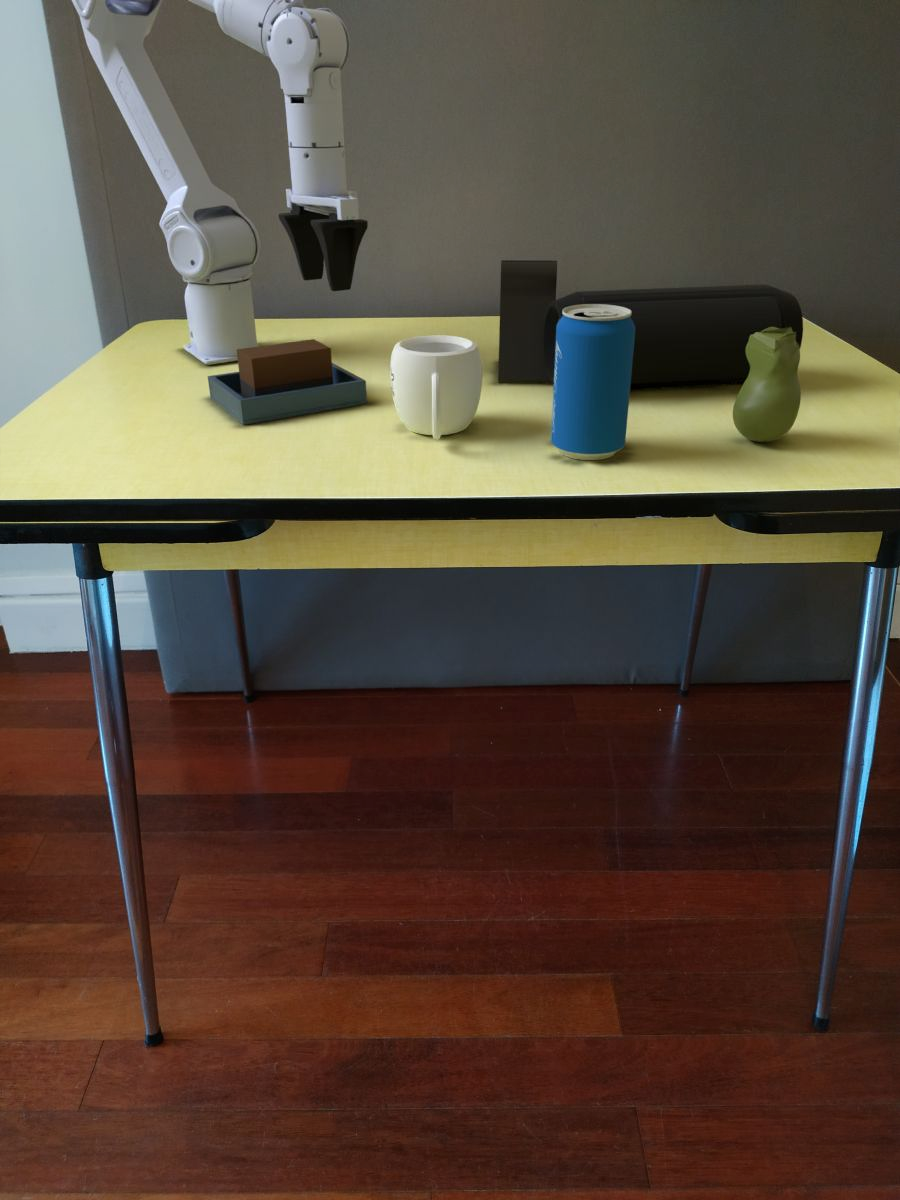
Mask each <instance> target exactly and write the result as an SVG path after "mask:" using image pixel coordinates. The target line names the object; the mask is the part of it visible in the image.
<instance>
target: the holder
mask: <svg viewBox="0 0 900 1200" xmlns="http://www.w3.org/2000/svg"><path fill="white" fill-rule="evenodd" d="M332 372H333V384H331V385H325V386H319V387H313V388H306V389H300V390H294V391H288V392H281V393H275V394H269V395H263V396H256V397H250V398H243V397H242V392H241V383H240V374H239V371H234V372H225V373H221V374H213V375H208V376H207V382H208V389H209V397H210V398H209V399H210V400H211V401H212V402H214V403H215V404H216V405H218V406H219V407H220V408H221V409H222V410H223V411H225V412H226V413H228V414H229V415H230V416H232V417H233V418H234V420H236V421H238V422H239V423H240V424H241V425H243V426H247V425H253V424H257V423H258V424H259V423H262V422H270V421H274V420H275V421H276V420H281V419H288V418H293V417H298V416H303V415H310V414H316V413H321V412H327V411H332V410H339V409H344V408H351V407H355V406H362V405H366V404H368V398H367V397H368V395H367V394H368V393H367V381H366V379H363V378H362V377H360V376H358V375H357V374H354V373H352V372H350V371H348V369H345V368H343V367H341V366H340V365H337V364H336V363H333V362H332Z"/></svg>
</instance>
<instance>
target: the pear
mask: <svg viewBox="0 0 900 1200" xmlns="http://www.w3.org/2000/svg"><path fill="white" fill-rule="evenodd" d="M795 338H796V332H793V331H792V328H791V327H789V328H783V329H779V328H776V327H769V328H767V329H765V330H763V331H761V332H756V333H755V334H753V335H750V337H749V341H748V343H747V345H746V349H745V352H746V357H747V359H748V362H749V364H750V372H749V375H748V377H747V379H746V381H745V382H744V384H742V385H741V387H740V389H739V390H738V394H737V396H736V398H735V399H734V400H735V401H734V404H733V408H732V420H733V424H734V426H735V428H736V430H737V432H738V433H739V434H741V435H742V436H743V437H744V438H745V439H747V440H750V441H752V442H757V443H769V442H774V441H776V440H779V439H781V438H782V437H784V436H785V435H786V434H788V432H789V431H790V430H791V429H792V427H793V426H794V425H795V422H796V420H797V417H798V415H799V410H800V406H801V400H802V387H801V382H800V377H799V365H800V361H801V347H800V348H799V343H798V342H796V339H795Z"/></svg>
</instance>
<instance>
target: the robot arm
mask: <svg viewBox="0 0 900 1200" xmlns="http://www.w3.org/2000/svg"><path fill="white" fill-rule="evenodd" d="M187 1H188V2H189V3H192V4H194V5H196V6H199V7H201V8H203V9H205V10H207V11H208V12H212V13H214V14H215V15H216V20H217V23H218V25H219V27H220V29H221V31H222V32H223V33H224V34H225V35H227V36H229V37H231V38H233V39H234V40H236V41H237V42H239V43H242V44H243V45H245V46H248V47H249V48H251V49H253V50H255V51H257V52H258V53H260V54H261V55H264V56H266V57H268V58H269V59H270V61H271V63H272V65H273V66H274V67H275V69H276V71H277V72H278V76H279V82H280V89H281V90H283V91H282V92H283V94H284V105H285V106H284V108H285V117H286V128H287V140H288V141H287V142H288V156H289V166H290V176H291V177H290V179H291V188H286V189H285V195H286V196H285V197H286V206H287V208H288V209H290V212H280V213H278V219H279V221H280V223H281V225H282V226H283V228H284V229H285V232H286V233H287V236H288V238H289V240H290V243H291V245H292V248H293V251H294V254H295V258H296V261H297V264H298V268H299V272H300V274H301V277H302V280H303V281H311V280H312V281H316V280H322V279H323V275H324V267H325V273H326V278H327V282H328V286H329V289H330V291H332V292H340V291H350V290H351V289H352V284H353V278H354V273H355V266H356V261H357V256H358V252H359V248H360V246H361V243H362V240H363V238H364V235H365V233H367V230H368V229H369V228H368V226H369V224H368V222H369V221H368V220H366V219H361V218H360V213H359V211H360V210H359V199H358V192H357V191H354V190H348V185H347V183H348V181H347V170H346V169H347V168H346V164H347V163H346V148H345V130H344V129H345V128H344V111H343V94H342V79H341V77H342V75H341V72H342V71H343V70H344V68H345V67H346V65H347V63H348V61H349V57H350V53H351V37H350V34H349V31H348V28H347V26H346V24H345V23H344V21H343V20H342V18H341V17H339V16H338V15H337V14H335V13H334V12H333V10H332V9H330V8H328V7H327V8H326V7H318V8H308V7H307V6H306V5H305V4H304V0H187ZM71 2H72V4H73V6H74V8H75V10H76V12H77V14H78V16H79V20H80V24H81V27H82V32H83V36H84V39H85V42H86V45H87V48H88V50H89V53H90V56H91V57H92V59H93V61H94V63H95V65H96V67H97V68H98V70H99V73H100V74H101V76H102V78H103V81H104V82H105V84H106V87H107V88H108V90H109V92H110V94H111V96H112V98H113V99H114V101H115V104H116V105H117V108H118V109H119V112H120V113H121V115H122V118H123V120H124V122H125V123H126V125H127V128H128V129H129V131H130V133H131V134H132V137H133V138H134V141H135V142H136V144H137V146H138V148H139V151H140V152H141V154H142V155H143V158H144V160H145V162H146V164H147V165H148V168H149V170H150V172H151V173H152V175H153V178H154V179H155V181H156V183H157V185H158V187H159V189H160V191H161V193H162V195H163V197H164V199H165V201H166V203H167V204H166V207H165V208H164V210H163V213H162V215H161V218H160V220H159V227H160V229H161V231H162V233H163V235H164V238H165V241H166V244H167V245H166V246H167V251H168V256H169V260H170V262H171V263H172V265H173V267H174V268H175V270H176V271H177V272H178V273H179V274H180V276H182V281H183V282H184V283H187V286H186V287H185V291H184V304H185V312H186V318H187V327H188V332H189V333H188V334H189V339H190V343H189V344H187V343H186V344H184V345H183V349H184V350H185V351H186V352H188V353H189V354H190V355H192V356H193V357H194V358H196V359H197V360H199V361H200V362H201V363H203V364H204V365H209V366H210V365H215V364H224V363H230V362H238V358H237V349H244V348H252V347H259V346H260V345H258V337H257V328H256V320H255V311H254V309H255V308H254V302H253V292H252V283H251V276H253V275H254V269H253V267H254V266H255V264H257V262H258V260H259V258H260V254H261V239H260V235H259V233H258V230H257V228H256V226H255V224H254V223H253V222H252V220H251V219H250V218H248V216H246V215H245V214H244V213H243V212H242V211H241V209H240V208H239V206H238V204H237V202H236V200H235V199H234V197H232V196H231V195H229V194H228V193H227V192H225V191H224V190H222V189H220V188H219V187H217V186H216V185H215V184H213V183H212V181H211V179H210V177H209V175H208V173H207V171H206V169H205V167H204V165H203V163H202V162H201V159H200V157H199V155H198V154H197V151H196V149H195V147H194V145H193V143H192V141H191V139H190V137H189V136H188V133H187V131H186V129H185V127H184V125H183V123H182V121H181V120H180V117H179V115H178V113H177V111H176V109H175V107H174V105H173V103H172V102H171V99H170V97H169V95H168V93H167V92H166V91H167V90H166V89H165V87H164V85H163V84H162V81H161V79H160V77H159V76H158V73H157V72H156V69H155V67H154V65H153V63H152V61H151V59H150V56H148V53H147V52H146V49H145V47H144V42H145V38H146V37H147V36H148V35H149V34H150V33H151V30H152V27H153V26H154V23H155V20H156V18H157V15H158V12H159V10H160V8H161V5H162V2H163V0H71Z"/></svg>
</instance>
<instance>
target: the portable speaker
mask: <svg viewBox="0 0 900 1200" xmlns="http://www.w3.org/2000/svg"><path fill="white" fill-rule="evenodd" d="M583 304H605V305H615V306H620V307H625V308H627V309H629V310H631V312H632V313H631V316H630V318H631V319H632V321H633V323H634V325H635V339H634V351H633V362H632V373H631V384H630V391H637V390H658V389H673V388H674V389H677V388H693V387H694V388H695V387H711V386H712V387H713V386H729V385H732V386H733V385H743V384H744V382H745V381H746V379H747V377H748V375H749V372H750V364H749V362H748V359H747V357H746V352H745V349H746V345H747V343H748V341H749V337H750V335H753V334H755V333H756V332H761V331H763V330H765V329H767V328H769V327H776V328H779V329H783V328H789V327H791V328H792V331H793V332H796V338H795V339H796V342H798V343H799V348H800V349H801V347H802V341H803V337H804V317H803V312H802V308H801V305H800V303H799V301H798V299H797V297H795V296H794V295H793V294H792V293H790V292H788V291H786V290H783V289H780V288H777V287H775V286H772V285H769V284H738V285H736V284H735V285H714V286H713V285H711V286H688V287H687V286H686V287H684V286H683V287H659V288H634V289H605V290H582V291H575V292H571V293H570V294H567V295H564V296H563V297H560V298H557V299H556V300H555V301H553V302H551V303H550V304H549V306H548V308H547V311H546V315H545V321H544V329H543V353H544V361H545V367H546V372H547V375H548V377H549V379H550V381H551V382H552V383H553V384H554V368H555V347H556V327H557V324H558V322H559V320H560V319H561V318H562V316H563V314H562V311H563V309H564V308H566V307H569V306H574V305H583Z"/></svg>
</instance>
